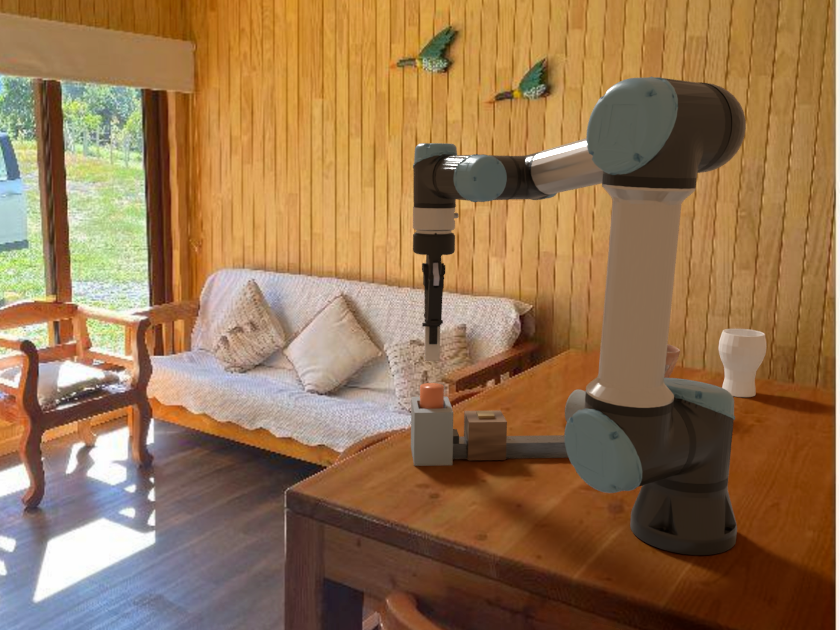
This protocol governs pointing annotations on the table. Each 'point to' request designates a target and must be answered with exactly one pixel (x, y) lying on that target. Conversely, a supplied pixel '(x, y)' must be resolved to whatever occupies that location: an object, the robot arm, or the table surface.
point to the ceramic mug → (574, 403)
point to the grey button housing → (431, 434)
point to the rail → (520, 446)
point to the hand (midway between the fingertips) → (432, 360)
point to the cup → (741, 359)
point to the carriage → (485, 435)
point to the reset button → (431, 396)
